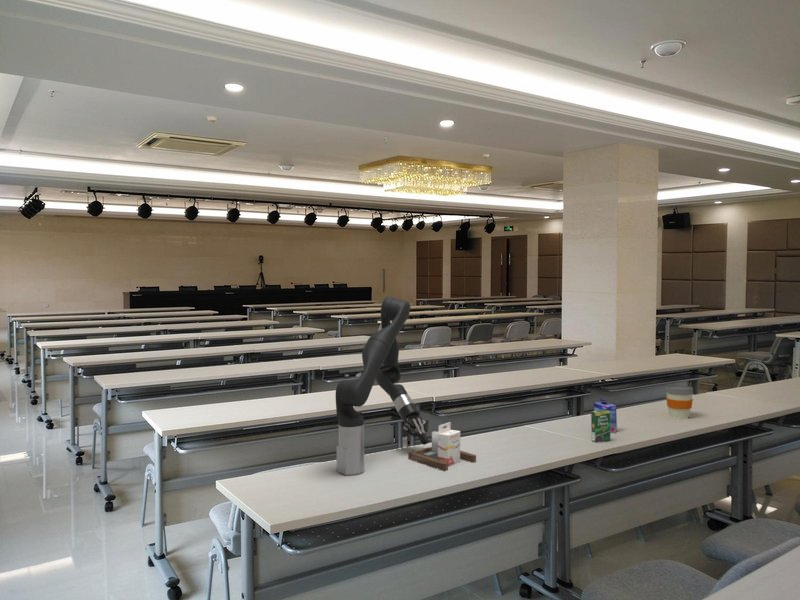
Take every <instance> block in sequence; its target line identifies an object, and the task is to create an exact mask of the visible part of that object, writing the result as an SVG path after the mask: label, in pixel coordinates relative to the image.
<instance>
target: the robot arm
mask: <svg viewBox="0 0 800 600" xmlns="http://www.w3.org/2000/svg"><path fill="white" fill-rule="evenodd" d="M410 312H411V304H410V302H409V301H407V300H404V299H399V298H395V297H391V296H386V297H385V298H384V299H383V301H382V303H381V307H380V323H381V324H380V325H381V329H380V330H378V331H376V332H374V333H373V334H372V335H370V336H369V338H368V340H367V341H366V343H365V345H364V347H363V349H362V352H361V359H362V364H363V365H362V366H363V370H362V373H361V375H360V377H359V378H358V380H351V379H350V380H349V379H343V380H340V381H339V382H338V383H337V386H336V388H335V407H336V409H335V410H336V418H337V420H338V421H337V422H338V444H337V445H336V472H337V473H339V474H342V475H343V476H353V475H359V474H362V473H364V472H365V417H364V416H363V414H360V413H359V412H358V411H357V410H355V408H354V407H356V408H360V407H362V406H364V405H365V403H366V402H367V401H368V399H369V397H370V395H371V391H372V389H373V386H374V383H375V381H376V383H377V384H378V385H379V387H380V388H381V389H382V390H383V391H384V392H385V393H386V394H387V395H388V396H389V397H390V399H391V400H392V403H393V404H394V405H393V406H394V407H395V409H396V412H398V415H399V416H400V419H401V420H402V422H403V423H404V426H403V427H402V430H403V431H405V432H406V433H407V434H409V435H410V436H412V437H414V438H415V437H417V438H418V440H419V441H420V443H421V444H422V445H423V446H425V445H427V444H428V443H429V438H428V437H427V434H426V433H427V432H428V431H429V420H428V419H425V420H424V419H423V418H422V416H421V415H420V412H419V410H418V408H417V405H416V404H415V403H414V401H413V399H412V398H411V396H409V393H408V392H407V390H406V388H405V387H404V386H403V385H402V384H399V383H398V382H399V381H400V379H401V376H402V375H401V370H400V365H399V354H400V353H399V352H400V345H399V343H398V340H397V339H398V338H397V336H398V334H399V333H400V331H401V330H402V328H403V326H404V325H405V323H406V321H407V320H408V318H409V315H410ZM382 365H383V366H385V367H386V368H383V369H381V367H382Z"/></svg>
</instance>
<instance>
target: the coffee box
mask: <svg viewBox="0 0 800 600" xmlns="http://www.w3.org/2000/svg"><path fill="white" fill-rule="evenodd" d="M590 414H591V415H590V417H591V420H590V421H591V422H590V423H591V426H590V427H591V442H592V443H593V442H594V443H599V442H600V443H601V442H609V441H611V433H610V411H609V410H599V411H594V410H593V411H590Z"/></svg>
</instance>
